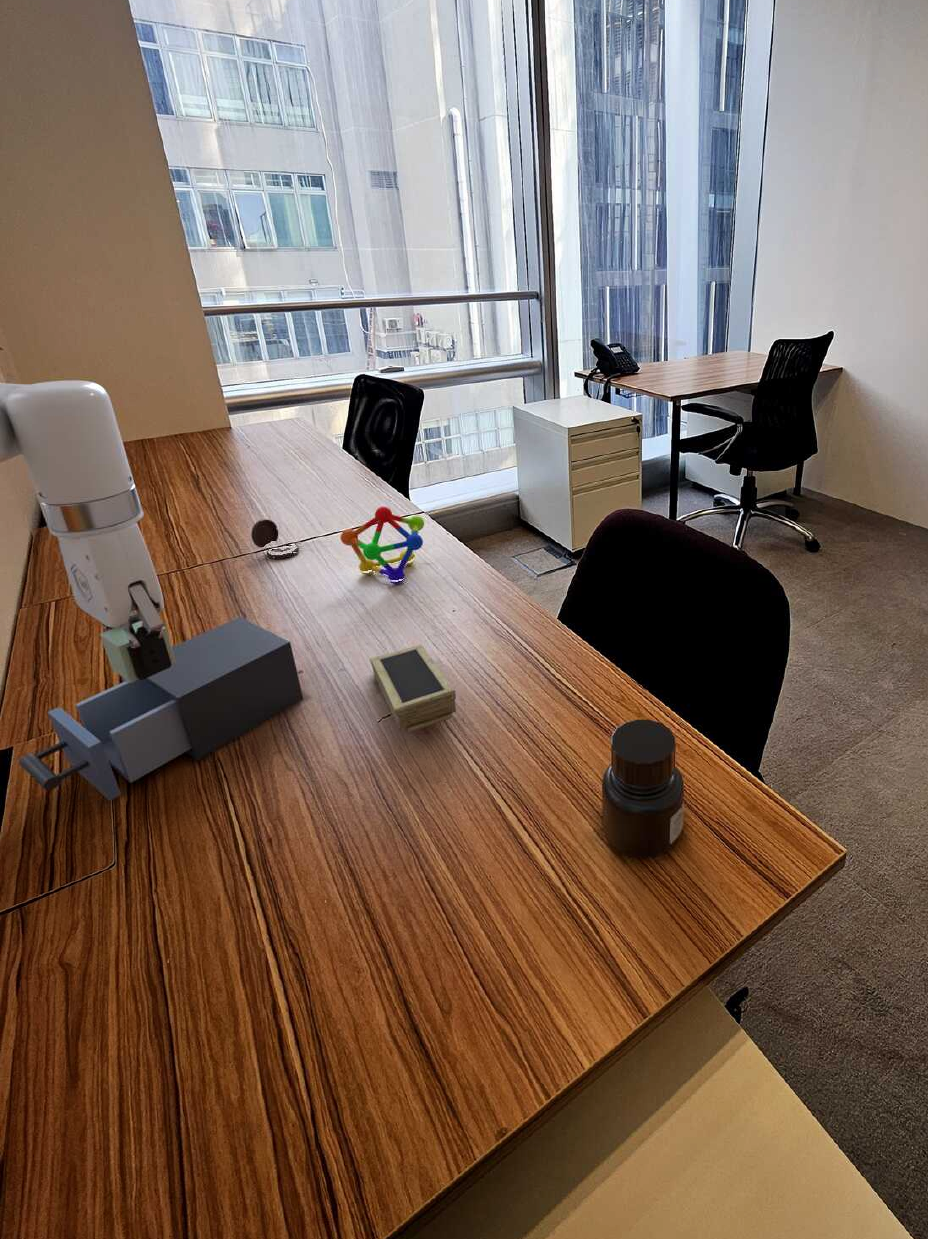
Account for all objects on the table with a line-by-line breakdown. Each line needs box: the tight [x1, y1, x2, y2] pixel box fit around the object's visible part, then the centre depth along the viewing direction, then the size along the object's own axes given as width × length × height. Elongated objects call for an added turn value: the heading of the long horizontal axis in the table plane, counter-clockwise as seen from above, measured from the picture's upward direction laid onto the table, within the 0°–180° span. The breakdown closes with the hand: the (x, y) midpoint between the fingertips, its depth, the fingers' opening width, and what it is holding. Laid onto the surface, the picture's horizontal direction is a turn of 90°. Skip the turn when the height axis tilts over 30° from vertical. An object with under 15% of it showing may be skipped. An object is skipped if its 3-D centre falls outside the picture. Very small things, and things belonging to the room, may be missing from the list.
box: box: [369, 644, 457, 734], centre depth 94 cm, size 8×22×5 cm, turn 32°
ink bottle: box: [601, 718, 685, 858], centre depth 71 cm, size 10×9×12 cm
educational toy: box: [340, 506, 425, 585], centre depth 127 cm, size 16×13×15 cm
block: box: [99, 621, 176, 683], centre depth 71 cm, size 4×4×4 cm
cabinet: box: [144, 616, 304, 761], centre depth 90 cm, size 15×13×10 cm
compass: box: [251, 519, 302, 560], centre depth 139 cm, size 8×8×7 cm
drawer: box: [19, 679, 191, 802], centre depth 80 cm, size 18×11×8 cm, turn 147°
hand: (143, 663), depth 71 cm, fingers closed on block, 4 cm apart
